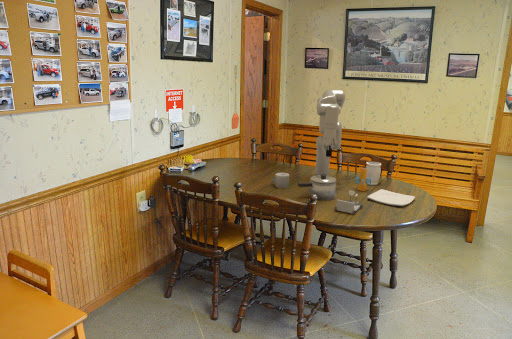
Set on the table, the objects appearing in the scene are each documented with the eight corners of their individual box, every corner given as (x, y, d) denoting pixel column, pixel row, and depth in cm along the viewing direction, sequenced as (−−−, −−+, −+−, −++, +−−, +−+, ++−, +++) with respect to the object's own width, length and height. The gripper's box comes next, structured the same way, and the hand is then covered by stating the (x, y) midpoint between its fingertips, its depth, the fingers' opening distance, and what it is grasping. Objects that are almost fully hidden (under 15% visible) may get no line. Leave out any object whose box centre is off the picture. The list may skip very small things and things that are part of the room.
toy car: (346, 188, 246) (365, 191, 240) (345, 203, 249) (363, 207, 243) (335, 195, 231) (355, 199, 225) (334, 211, 234) (353, 216, 228)
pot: (294, 193, 264) (295, 178, 262) (329, 191, 269) (330, 177, 267) (301, 201, 249) (302, 185, 246) (339, 199, 254) (340, 184, 251)
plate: (380, 192, 273) (380, 188, 272) (417, 200, 258) (417, 196, 257) (364, 200, 255) (364, 196, 254) (402, 210, 240) (403, 205, 239)
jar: (379, 186, 285) (382, 165, 282) (364, 184, 287) (366, 164, 284) (378, 182, 295) (380, 161, 292) (363, 180, 297) (365, 160, 294)
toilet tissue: (273, 183, 285) (273, 171, 283) (290, 186, 280) (291, 174, 277) (267, 186, 278) (268, 174, 275) (285, 189, 272) (286, 177, 270)
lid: (306, 177, 264) (307, 171, 263) (330, 176, 267) (330, 171, 266) (315, 184, 248) (315, 178, 247) (340, 183, 251) (340, 177, 250)
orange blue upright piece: (357, 192, 269) (359, 170, 265) (350, 188, 279) (352, 166, 275) (374, 191, 272) (376, 170, 268) (366, 187, 282) (368, 166, 278)
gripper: (320, 124, 250) (318, 153, 254) (329, 128, 235) (327, 159, 240) (332, 124, 251) (330, 153, 256) (341, 128, 237) (339, 159, 242)
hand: (328, 156), depth 248 cm, fingers closed
